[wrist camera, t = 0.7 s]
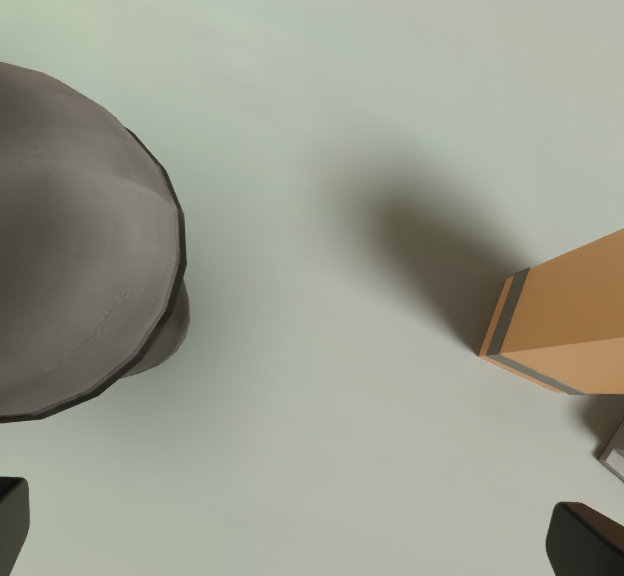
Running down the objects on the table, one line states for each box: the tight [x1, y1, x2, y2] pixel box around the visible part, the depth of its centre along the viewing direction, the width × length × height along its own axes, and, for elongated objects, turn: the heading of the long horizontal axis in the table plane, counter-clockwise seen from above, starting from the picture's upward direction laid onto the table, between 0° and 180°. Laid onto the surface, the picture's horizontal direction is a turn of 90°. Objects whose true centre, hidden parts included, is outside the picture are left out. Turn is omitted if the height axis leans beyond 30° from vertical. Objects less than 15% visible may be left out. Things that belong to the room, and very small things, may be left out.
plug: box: [478, 229, 624, 395], centre depth 19 cm, size 4×4×11 cm
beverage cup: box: [0, 62, 190, 423], centre depth 12 cm, size 7×7×20 cm
